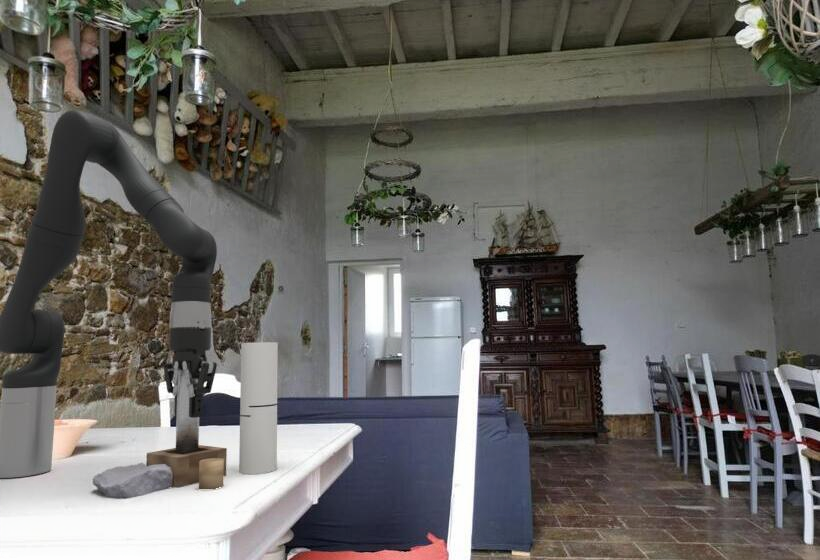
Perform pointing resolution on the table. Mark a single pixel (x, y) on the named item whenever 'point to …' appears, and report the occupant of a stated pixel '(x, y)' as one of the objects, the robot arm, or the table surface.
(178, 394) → the steel pin
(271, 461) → the cylindrical container
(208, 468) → the oak stub
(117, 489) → the stone block
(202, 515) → the table surface
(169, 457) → the collar
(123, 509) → the table surface
